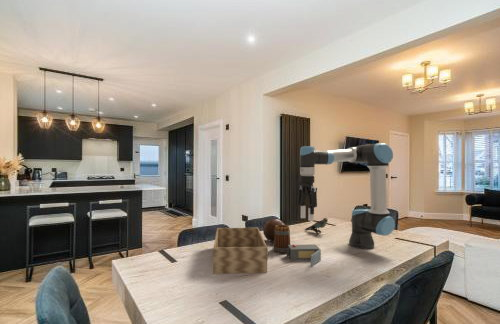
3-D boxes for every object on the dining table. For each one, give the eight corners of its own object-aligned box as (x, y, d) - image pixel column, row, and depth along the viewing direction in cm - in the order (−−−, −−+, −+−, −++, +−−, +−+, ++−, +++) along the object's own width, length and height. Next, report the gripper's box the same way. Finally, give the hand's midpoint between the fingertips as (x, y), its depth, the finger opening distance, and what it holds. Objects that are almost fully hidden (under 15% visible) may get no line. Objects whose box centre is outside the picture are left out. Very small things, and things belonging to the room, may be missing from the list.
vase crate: (257, 246, 165) (258, 227, 165) (267, 272, 125) (267, 247, 125) (216, 247, 163) (217, 228, 163) (213, 273, 123) (213, 248, 123)
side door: (318, 259, 143) (319, 248, 143) (321, 260, 142) (321, 248, 142) (310, 266, 133) (310, 254, 133) (312, 267, 132) (312, 255, 132)
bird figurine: (300, 230, 203) (311, 210, 196) (307, 228, 210) (319, 209, 203) (312, 243, 195) (325, 222, 187) (319, 240, 201) (332, 220, 194)
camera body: (315, 254, 150) (315, 242, 150) (320, 259, 142) (320, 247, 142) (285, 255, 149) (285, 243, 149) (289, 260, 141) (289, 247, 141)
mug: (290, 254, 150) (290, 228, 150) (272, 253, 152) (272, 227, 153) (291, 246, 166) (291, 222, 166) (275, 245, 168) (275, 221, 168)
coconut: (290, 242, 174) (290, 220, 174) (272, 246, 165) (272, 222, 166) (275, 237, 186) (275, 216, 186) (258, 240, 178) (258, 218, 178)
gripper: (291, 174, 146) (290, 216, 146) (312, 176, 129) (312, 223, 128) (302, 174, 149) (302, 215, 149) (324, 176, 132) (324, 222, 131)
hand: (306, 219), depth 138 cm, fingers open, 6 cm apart
